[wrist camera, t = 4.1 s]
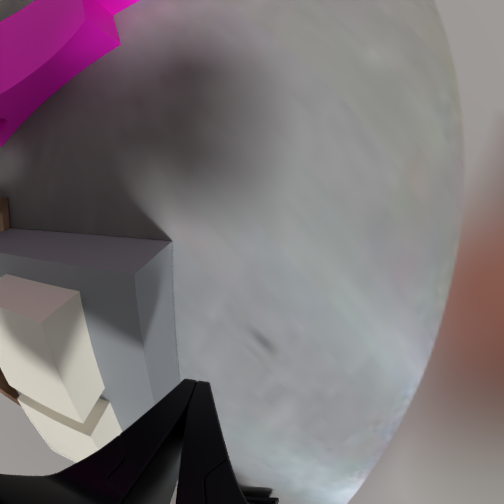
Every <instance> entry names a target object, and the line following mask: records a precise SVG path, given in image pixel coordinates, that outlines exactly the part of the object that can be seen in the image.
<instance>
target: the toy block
mask: <svg viewBox="0 0 504 504" xmlns="http://www.w3.org/2000/svg"><path fill="white" fill-rule="evenodd" d="M137 1H139V0H34V1H33V2H32V3H30V4H29V5H27V6H26V7H24V8H23V9H21V10H20V11H18V12H16V13H15V14H13V15H11V16H9V17H8V18H6V19H4V20H2V21H0V146H2V145H3V144H4V143H5V142H6V141H7V140H8V138H9V137H10V136H11V135H12V134H13V133H14V132H15V131H16V129H17V128H18V127H19V126H20V125H21V124H22V123H23V122H24V121H25V120H26V119H27V118H28V117H29V116H30V115H31V114H32V113H33V112H34V111H35V110H36V109H37V108H38V107H39V106H40V105H41V104H42V103H43V102H45V101H46V100H47V99H48V98H49V97H50V96H51V95H52V94H53V93H55V92H56V91H57V90H58V89H59V88H60V87H62V86H63V85H64V84H65V83H67V82H68V81H69V80H70V79H72V78H73V77H74V76H75V75H77V74H78V73H79V72H81V71H82V70H83V69H85V68H86V67H87V66H89V65H90V64H92V63H93V62H95V61H96V60H97V59H99V58H100V57H102V56H103V55H105V54H106V53H108V52H110V51H111V50H113V49H114V48H116V47H118V46H119V45H121V43H120V40H119V36H118V33H117V29H116V25H115V22H114V18H113V15H114V14H116V13H118V12H119V11H121V10H123V9H125V8H126V7H128V6H130V5H132V4H134V3H136V2H137Z"/></svg>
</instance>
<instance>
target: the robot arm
mask: <svg viewBox="0 0 504 504" xmlns="http://www.w3.org/2000/svg"><path fill="white" fill-rule="evenodd" d="M177 480H178V486H177V496H176V504H278V502H279V498H268V497H246V496H244V495H243V493H242V491H241V489H240V487H239V485H238V483H237V480H236V477H235V474H234V472H233V469H232V465H231V462H230V460H229V456H228V452H227V449H226V445H225V441H224V438H223V434H222V430H221V427H220V423H219V419H218V415H217V411H216V407H215V403H214V399H213V395H212V390H211V386H210V383H209V382H205V381H198V382H197V381H196V380H192V379H184V380H183V381H182V382H181V383H179V384H178V385H177V386H176V387H175V388H174V389H173V390H171V391H170V392H169V393H168V394H167V395H166V396H165V397H163V398H162V399H161V400H160V401H159V402H158V403H156V404H155V405H154V406H153V407H152V408H151V409H149V410H148V411H147V412H146V413H145V414H144V415H142V416H141V417H140V418H139V419H138V420H136V421H135V422H134V423H133V424H132V425H130V426H129V427H128V428H127V429H125V430H124V431H123V432H122V433H120V436H119V435H118V436H117V437H115V438H114V439H113V440H112V441H110V442H109V443H108V444H106V445H105V446H104V447H102V448H101V449H99V450H98V451H96V452H94V453H93V454H91V455H90V456H88V457H86V458H84V459H83V460H81V461H79V462H77V463H75V464H74V465H72V466H70V467H68V468H66V469H64V470H62V471H60V472H58V473H55V474H52V475H46V476H22V475H5V474H0V504H170V501H171V498H172V495H173V492H174V489H175V486H176V483H177Z"/></svg>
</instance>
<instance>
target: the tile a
mask: <svg viewBox="0 0 504 504" xmlns="http://www.w3.org/2000/svg"><path fill="white" fill-rule="evenodd" d="M0 368H1V370H2V372H3V374H4V376H5V378H6V380H7V382H8V384H9V385H10V386H11V387H13V388H15V389H16V390H18V391H19V392H21V393H23V394H25V395H26V396H28V397H30V398H31V399H33V400H35V401H37V402H39V403H41V404H42V405H44V406H46V407H48V408H50V409H52V410H54V411H56V412H58V413H60V414H63V415H65V416H67V417H69V418H71V419H74V420H76V421H78V422H80V423H84V421H85V419H86V418H87V416H88V415H89V413H90V411H91V410H92V408H93V406H94V405H95V403H96V402H97V400H98V398H99V397H100V395H101V394H102V392H103V390H104V389H105V387H104V384H103V381H102V378H101V375H100V372H99V369H98V366H97V362H96V359H95V356H94V352H93V348H92V345H91V341H90V337H89V333H88V329H87V325H86V321H85V316H84V312H83V307H82V302H81V296H80V291H76V290H71V289H66V288H62V287H57V286H53V285H49V284H44V283H40V282H36V281H32V280H28V279H24V278H20V277H17V276H13V275H9V274H5V275H3V276H2V277H0Z"/></svg>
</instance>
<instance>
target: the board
mask: <svg viewBox="0 0 504 504" xmlns="http://www.w3.org/2000/svg"><path fill="white" fill-rule="evenodd" d="M5 274H9V275H13V276H17V277H20V278H24V279H28V280H32V281H36V282H40V283H44V284H49V285H53V286H57V287H62V288H66V289H71V290H76V291H80V296H81V302H82V307H83V312H84V316H85V321H86V325H87V329H88V333H89V337H90V341H91V345H92V348H93V352H94V356H95V359H96V362H97V366H98V369H99V372H100V375H101V378H102V381H103V384H104V387H105V389H104V390H103V392H102V394H101V395H100V397H99V398H100V399H103V400H106V401H109V402H110V403H111V406H112V408H113V411H114V413H115V416H116V418H117V420H118V423H119V425H120V427H121V430H122V432H123V431H124V430H125V429H127V428H128V427H129V426H130V425H132V424H133V423H134V422H135V421H136V420H138V419H139V418H140V417H141V416H142V415H144V414H145V413H146V412H147V411H148V410H149V409H151V408H152V407H153V406H154V405H155V404H156V403H158V402H159V401H160V400H161V399H162V398H163V397H165V396H166V395H167V394H168V393H169V392H170V391H171V390H173V389H174V388H175V387H176V386H177V385H178V384H179V383H180V375H179V366H178V355H177V344H176V331H175V316H174V296H173V265H172V241H163V240H151V239H139V238H127V237H115V236H102V235H90V234H78V233H65V232H52V231H40V230H27V229H14V228H9V229H7V230H4V231H1V232H0V277H2V276H3V275H5ZM17 392H18V394H19V396H20V395H21V394H22V393H21V392H19V391H18V390H17ZM176 484H177V485H178V480H177V483H176Z"/></svg>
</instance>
